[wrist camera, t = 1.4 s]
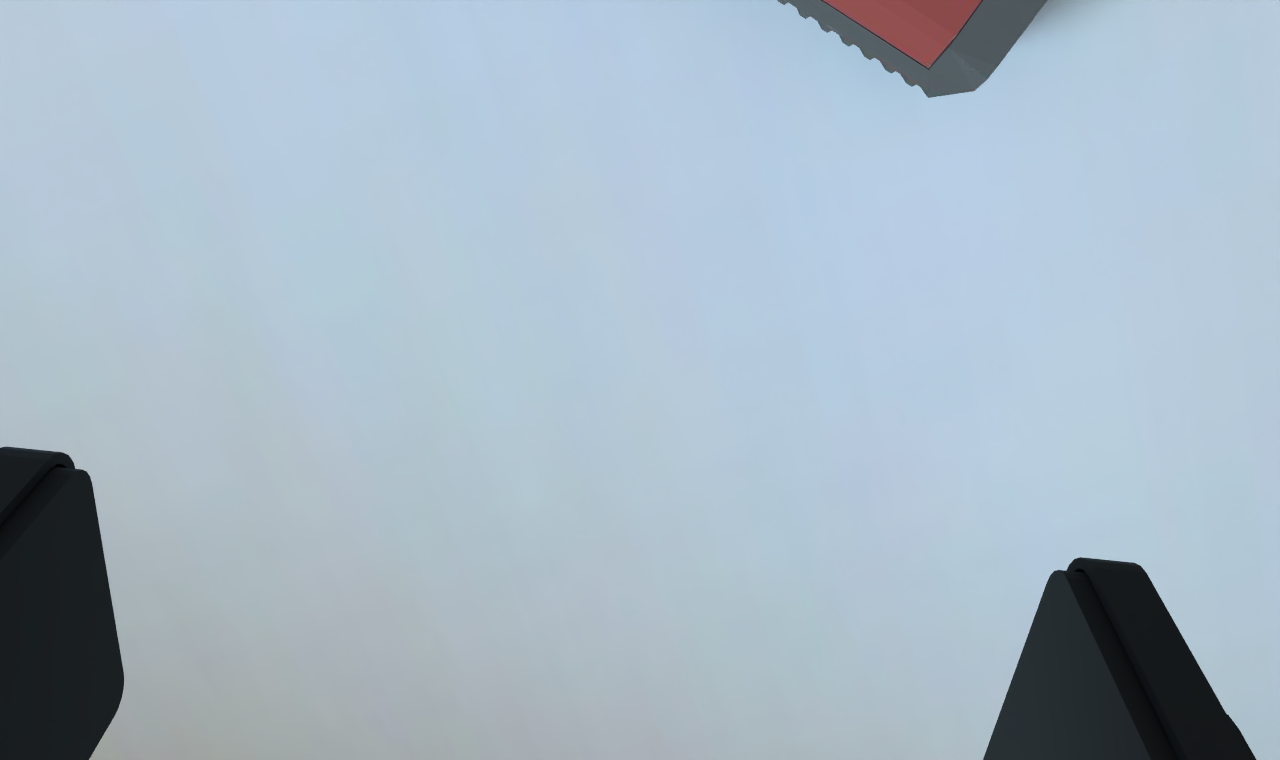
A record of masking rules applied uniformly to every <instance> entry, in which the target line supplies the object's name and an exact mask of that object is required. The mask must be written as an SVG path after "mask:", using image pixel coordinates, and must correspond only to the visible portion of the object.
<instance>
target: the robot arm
mask: <svg viewBox="0 0 1280 760" xmlns="http://www.w3.org/2000/svg"><path fill="white" fill-rule="evenodd" d="M123 687H124V672H123V666H122V660H121V655H120V649H119V643H118V637H117V631H116V625H115V619H114V613H113V607H112V601H111V595H110V589H109V583H108V577H107V571H106V565H105V559H104V553H103V547H102V541H101V535H100V529H99V523H98V517H97V511H96V505H95V499H94V493H93V487H92V482H91V479H90V476H89V475H88V473H87V472H86V471H84V470H80V469H75V466H74V463H73V461H72V460H71V458H70V457H69V455H67V454H65V453H62V452H53V451H43V450H34V449H24V448H14V447H2V448H0V760H89V758H90V757H91V755H92V753H93V752H94V750H95V748H96V747H97V745H98V743H99V741H100V740H101V738H102V736H103V735H104V733H105V731H106V729H107V728H108V726H109V724H110V723H111V721H112V719H113V718H114V716H115V714H116V712H117V710H118V707H119V704H120V701H121V698H122V693H123ZM983 760H1256V758H1255V756H1254V755H1253V753H1252V751H1251V749H1250V748H1249V746H1248V744H1247V742H1246V741H1245V739H1244V737H1243V735H1242V734H1241V732H1240V730H1239V729H1238V727H1237V726H1236V725H1235V723H1234V722H1233V721H1232V719H1231V718H1230V717H1229V715H1227V714H1226V713H1225V711H1224V709H1223V707H1222V706H1221V704H1220V702H1219V700H1218V699H1217V697H1216V695H1215V693H1214V692H1213V690H1212V688H1211V686H1210V684H1209V683H1208V681H1207V679H1206V677H1205V676H1204V674H1203V672H1202V670H1201V669H1200V667H1199V665H1198V663H1197V662H1196V660H1195V658H1194V656H1193V654H1192V653H1191V651H1190V649H1189V647H1188V646H1187V644H1186V642H1185V640H1184V639H1183V637H1182V635H1181V633H1180V632H1179V630H1178V628H1177V626H1176V624H1175V623H1174V621H1173V619H1172V617H1171V616H1170V614H1169V612H1168V610H1167V609H1166V607H1165V605H1164V603H1163V602H1162V600H1161V598H1160V596H1159V594H1158V593H1157V591H1156V589H1155V587H1154V586H1153V584H1152V582H1151V580H1150V579H1149V577H1148V575H1147V573H1146V572H1145V571H1144V569H1143V568H1142V567H1141V566H1140V565H1138V564H1135V563H1129V562H1120V561H1110V560H1100V559H1091V558H1077V559H1074V560H1073V562H1072V563H1071V564H1070V565H1069V567H1068V569H1067V571H1062V570H1057V571H1054V572H1053V573H1052V574H1051V575H1050V577H1049V579H1048V582H1047V584H1046V587H1045V590H1044V592H1043V595H1042V598H1041V601H1040V604H1039V606H1038V609H1037V612H1036V615H1035V617H1034V620H1033V623H1032V626H1031V628H1030V631H1029V634H1028V637H1027V640H1026V642H1025V645H1024V648H1023V651H1022V653H1021V656H1020V659H1019V662H1018V664H1017V667H1016V670H1015V673H1014V676H1013V678H1012V681H1011V684H1010V687H1009V689H1008V692H1007V695H1006V698H1005V700H1004V703H1003V706H1002V709H1001V711H1000V714H999V717H998V720H997V723H996V725H995V728H994V731H993V734H992V736H991V739H990V742H989V745H988V747H987V750H986V753H985V756H984V759H983Z"/></svg>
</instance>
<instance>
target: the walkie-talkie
mask: <svg viewBox="0 0 1280 760" xmlns="http://www.w3.org/2000/svg"><path fill="white" fill-rule="evenodd" d="M778 1H779V2H780V3H782V4H783V5H785V4H786V3H788V2H789V3H790V4H792V5H793V6H795V7H796V8H797V10H798V12H799V14H800V16H802V17H804V18H805V19H806V18H808V17H810V16H811V17H812V18H814V19H815V20H817V21H818V23H819V25H820V27H821V29H822V30H824V31H826V32H827V33H828V32H829V31H831V30H832V31H834V32H836V33H837V34H839V36H840V38H841V40H842V42H843V43H844V44H846V45H847V46H850V45H852V44H854V45H856V46H857V47H859V48H860V50H861V51H862V53H863V55H864V56H865V57H866V58H868V59H869V60H871V59H873V58H876V59H878V60H879V61H880V62H881V63H882V65H883V67H884V68H885V70H887V71H888V72H890V73H893V72H895V71H897V72H898V73H900V74H901V76H902V77H903V79H904V80H905V82H906V83H907V84H908V85H910V86H914V85H916V84H917V85H918V86H920V87H921V88H922V90H923V91H924V93H925V94H926V96H927V97H928V98H929V97H936V96H943V95H950V94H957V93H964V92H971V91H975V90H976V89H977V88H978V87H979V86H980V85H981V84H983V83H984V82H985V81H986V80H987V79H988V78H989V76H990V75H991V74H992V73H993V72H994V70H995V69H996V68H997V67H998V65H999V64H1000V63H1001V61H1002V60H1003V59H1004V57H1005V56H1006V55H1007V53H1008V52H1009V51H1010V49H1011V48H1012V47H1013V45H1014V44H1015V43H1016V41H1017V40H1018V39H1019V37H1020V36H1021V35H1022V33H1023V32H1024V31H1025V29H1026V28H1027V27H1028V25H1029V24H1030V23H1031V21H1032V20H1033V19H1034V17H1035V16H1036V15H1037V13H1038V12H1039V11H1040V9H1041V8H1042V7H1043V5H1044V4H1045V3H1046V1H1047V0H778Z"/></svg>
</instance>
